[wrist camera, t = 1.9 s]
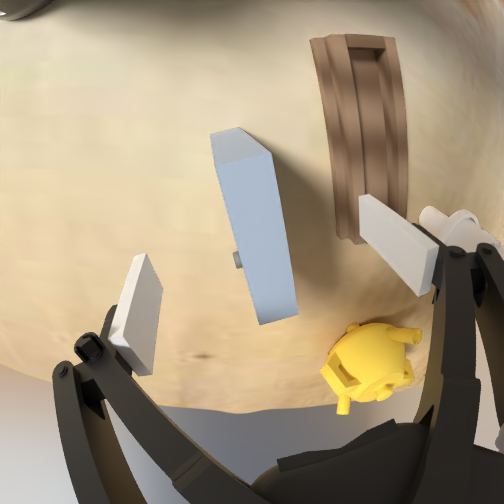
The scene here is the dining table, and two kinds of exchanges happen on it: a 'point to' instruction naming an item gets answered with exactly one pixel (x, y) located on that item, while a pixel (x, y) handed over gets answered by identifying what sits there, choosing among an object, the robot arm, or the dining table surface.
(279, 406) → the dining table surface
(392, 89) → the track
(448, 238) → the strainer
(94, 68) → the dining table surface
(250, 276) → the door panel
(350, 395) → the teapot
